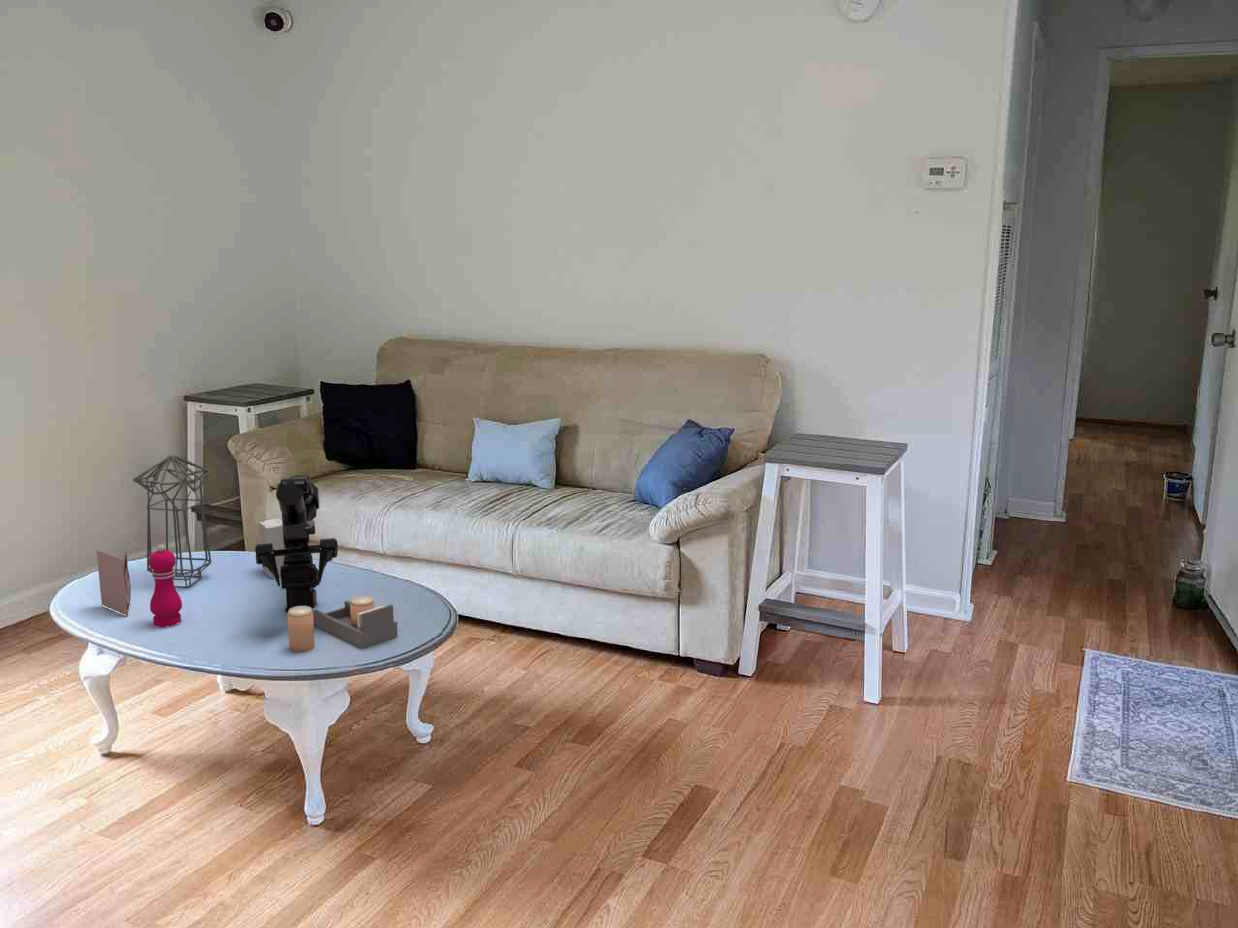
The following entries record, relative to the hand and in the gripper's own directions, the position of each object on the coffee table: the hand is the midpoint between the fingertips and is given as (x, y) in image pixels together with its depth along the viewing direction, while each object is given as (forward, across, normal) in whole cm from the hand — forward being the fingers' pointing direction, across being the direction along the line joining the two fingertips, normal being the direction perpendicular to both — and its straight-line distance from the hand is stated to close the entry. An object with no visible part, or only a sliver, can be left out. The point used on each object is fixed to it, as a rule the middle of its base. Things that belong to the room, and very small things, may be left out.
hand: (299, 583), depth 250 cm
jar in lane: (+12, +14, +5) cm, 19 cm away
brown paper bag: (-11, -43, +31) cm, 54 cm away
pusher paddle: (+15, +16, +3) cm, 22 cm away
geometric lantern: (-24, -29, +44) cm, 58 cm away
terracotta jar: (+15, 0, +4) cm, 16 cm away
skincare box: (-23, -4, +44) cm, 50 cm away
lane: (+11, +12, +8) cm, 18 cm away
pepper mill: (-3, -31, +22) cm, 38 cm away
